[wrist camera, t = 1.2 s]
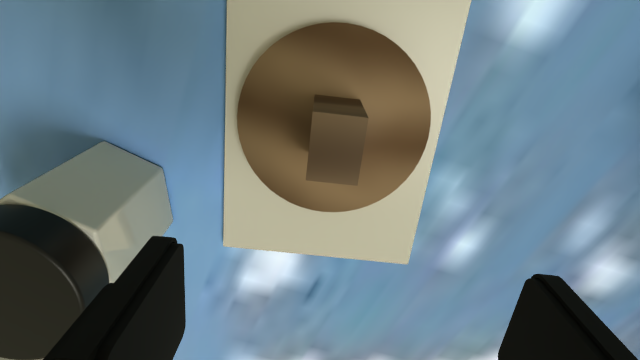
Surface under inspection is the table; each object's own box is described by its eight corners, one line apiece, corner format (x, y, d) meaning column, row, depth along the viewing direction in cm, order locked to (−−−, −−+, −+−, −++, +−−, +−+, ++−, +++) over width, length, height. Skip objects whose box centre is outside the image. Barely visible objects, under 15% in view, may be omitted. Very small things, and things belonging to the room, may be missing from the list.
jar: (49, 141, 28) (-129, 221, 17) (159, 138, 28) (53, 218, 17) (82, 246, 32) (-48, 369, 20) (180, 244, 31) (103, 366, 20)
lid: (243, 10, 24) (219, 8, 18) (446, 34, 24) (483, 39, 19) (237, 197, 29) (217, 239, 23) (406, 214, 29) (426, 259, 24)
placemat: (229, -36, 23) (227, -37, 23) (469, -6, 24) (472, -7, 24) (225, 242, 31) (223, 246, 31) (406, 260, 32) (407, 264, 31)
